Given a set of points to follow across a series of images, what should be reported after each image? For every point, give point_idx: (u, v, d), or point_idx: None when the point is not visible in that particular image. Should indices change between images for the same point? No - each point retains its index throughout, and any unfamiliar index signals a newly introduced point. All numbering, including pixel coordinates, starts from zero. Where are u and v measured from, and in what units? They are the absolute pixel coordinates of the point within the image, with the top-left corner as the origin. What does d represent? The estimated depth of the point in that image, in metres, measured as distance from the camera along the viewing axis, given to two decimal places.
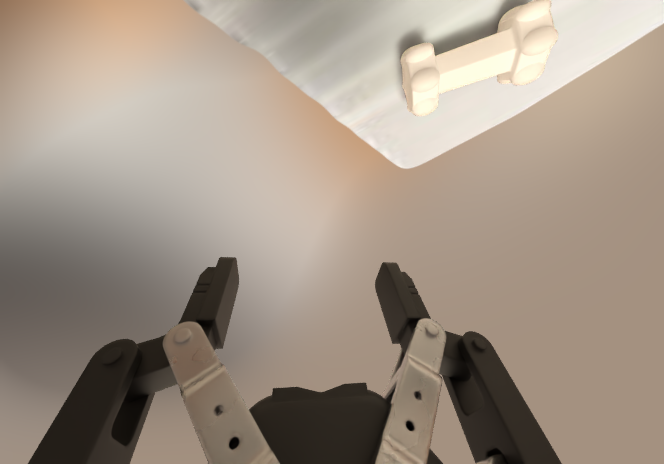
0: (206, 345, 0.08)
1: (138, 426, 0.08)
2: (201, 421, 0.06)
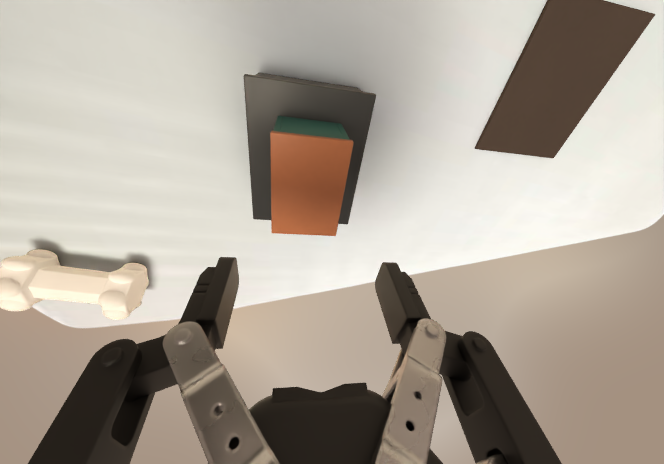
0: (206, 345, 0.08)
1: (138, 426, 0.08)
2: (201, 421, 0.06)
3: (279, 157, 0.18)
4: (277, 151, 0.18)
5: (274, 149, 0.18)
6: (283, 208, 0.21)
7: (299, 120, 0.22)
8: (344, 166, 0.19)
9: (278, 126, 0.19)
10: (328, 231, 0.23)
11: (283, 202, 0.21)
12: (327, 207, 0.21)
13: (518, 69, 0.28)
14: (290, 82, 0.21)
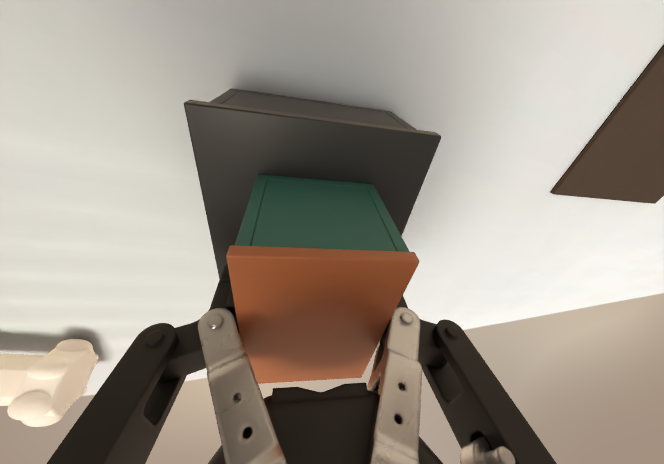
0: (238, 329, 0.09)
1: (167, 408, 0.08)
2: (221, 404, 0.07)
3: (251, 294, 0.08)
4: (247, 285, 0.08)
5: (239, 283, 0.08)
6: (267, 357, 0.11)
7: (298, 185, 0.11)
8: (392, 298, 0.09)
9: (252, 216, 0.09)
10: (349, 374, 0.13)
11: (266, 351, 0.11)
12: (350, 350, 0.11)
13: (644, 82, 0.17)
14: (280, 116, 0.10)
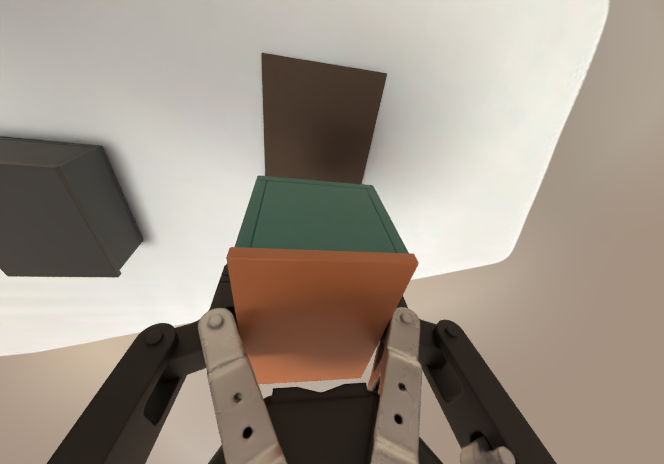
0: None
1: (167, 408, 0.08)
2: (221, 404, 0.07)
3: (251, 295, 0.08)
4: (246, 287, 0.08)
5: (239, 284, 0.08)
6: (267, 358, 0.11)
7: (297, 186, 0.11)
8: (392, 300, 0.09)
9: (252, 217, 0.09)
10: (349, 375, 0.13)
11: (266, 352, 0.11)
12: (349, 350, 0.11)
13: (266, 125, 0.27)
14: None
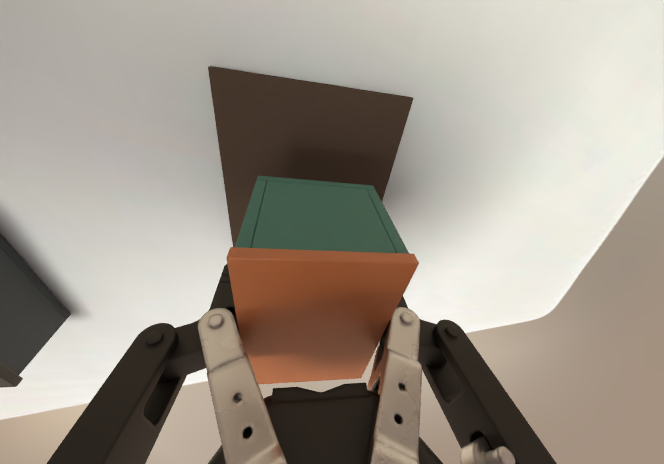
0: None
1: (167, 408, 0.08)
2: (221, 404, 0.07)
3: (251, 295, 0.08)
4: (247, 287, 0.08)
5: (239, 284, 0.08)
6: (267, 358, 0.11)
7: (298, 186, 0.11)
8: (392, 300, 0.09)
9: (252, 217, 0.09)
10: (349, 375, 0.13)
11: (266, 352, 0.11)
12: (350, 350, 0.11)
13: (226, 174, 0.18)
14: None
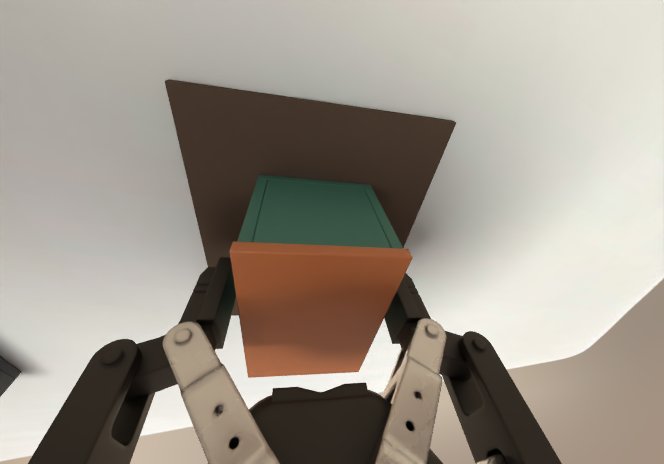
0: (206, 345, 0.08)
1: (138, 426, 0.08)
2: (201, 421, 0.06)
3: (252, 288, 0.09)
4: (248, 280, 0.08)
5: (241, 277, 0.08)
6: (267, 351, 0.11)
7: (297, 184, 0.12)
8: (387, 293, 0.10)
9: (254, 214, 0.09)
10: (346, 368, 0.13)
11: (266, 344, 0.11)
12: (347, 344, 0.12)
13: (201, 219, 0.13)
14: None
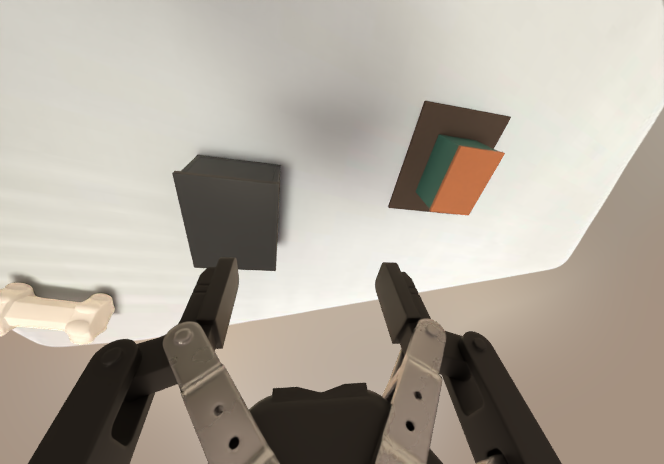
0: (206, 345, 0.08)
1: (138, 426, 0.08)
2: (201, 421, 0.06)
3: (458, 161, 0.30)
4: (459, 157, 0.29)
5: (458, 156, 0.29)
6: (446, 194, 0.32)
7: (454, 138, 0.33)
8: (493, 168, 0.31)
9: (454, 142, 0.31)
10: (465, 211, 0.35)
11: (447, 190, 0.32)
12: (472, 194, 0.33)
13: (409, 152, 0.35)
14: (209, 177, 0.27)
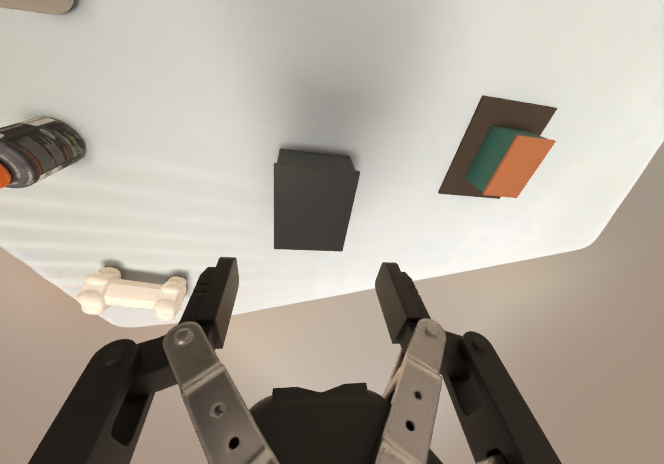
0: (206, 345, 0.08)
1: (138, 426, 0.08)
2: (201, 421, 0.06)
3: (515, 149, 0.34)
4: (516, 145, 0.34)
5: (515, 144, 0.33)
6: (499, 179, 0.37)
7: (506, 128, 0.37)
8: (544, 154, 0.35)
9: (509, 132, 0.35)
10: (514, 194, 0.39)
11: (501, 175, 0.36)
12: (522, 178, 0.37)
13: (463, 142, 0.39)
14: (303, 167, 0.32)
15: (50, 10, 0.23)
